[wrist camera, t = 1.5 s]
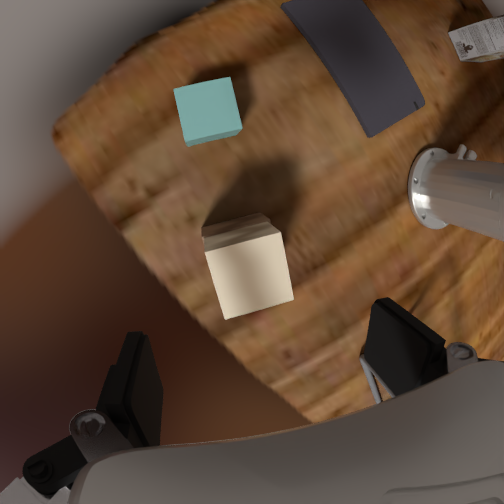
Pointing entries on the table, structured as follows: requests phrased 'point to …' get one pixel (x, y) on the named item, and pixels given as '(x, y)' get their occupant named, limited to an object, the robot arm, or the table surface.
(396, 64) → the notebook
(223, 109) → the teal block
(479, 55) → the coffee box
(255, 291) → the tower mid
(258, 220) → the tower base
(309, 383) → the table surface
